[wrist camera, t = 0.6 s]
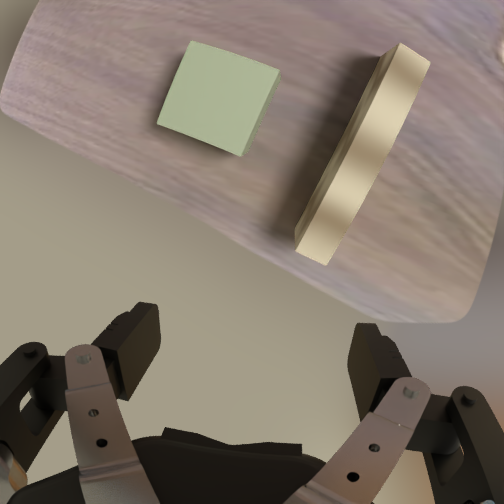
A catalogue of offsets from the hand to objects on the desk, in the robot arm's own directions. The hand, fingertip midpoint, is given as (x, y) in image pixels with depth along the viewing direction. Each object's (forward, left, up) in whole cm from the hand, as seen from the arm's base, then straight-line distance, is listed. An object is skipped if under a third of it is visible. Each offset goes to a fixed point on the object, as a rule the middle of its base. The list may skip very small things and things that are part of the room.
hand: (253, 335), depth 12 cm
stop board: (-9, +4, -21) cm, 23 cm away
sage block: (-8, -9, -21) cm, 24 cm away
